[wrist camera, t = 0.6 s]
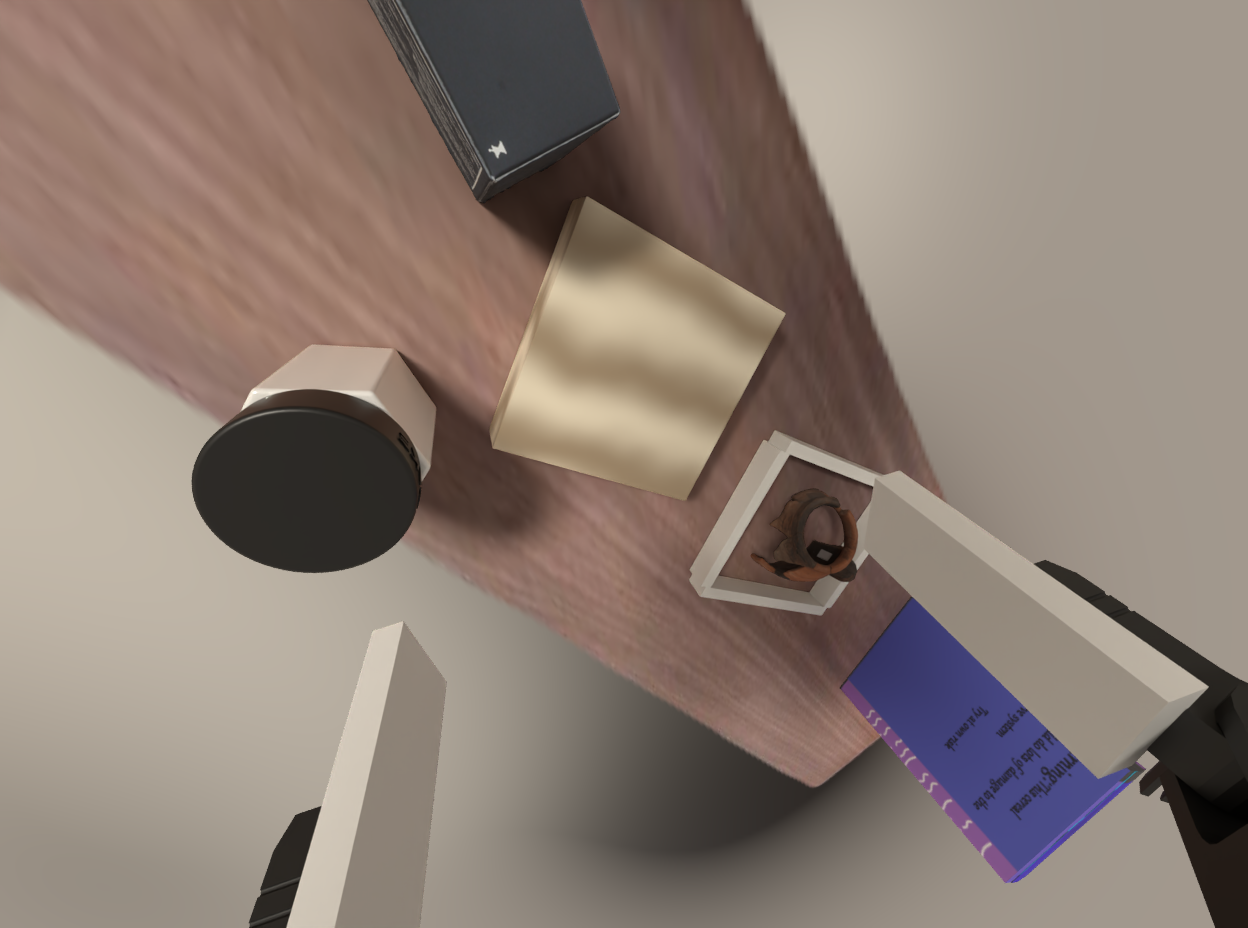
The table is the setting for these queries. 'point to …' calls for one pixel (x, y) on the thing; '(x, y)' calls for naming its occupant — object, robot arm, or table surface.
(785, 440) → the grey tray rim
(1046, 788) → the cereal box
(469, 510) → the table surface
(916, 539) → the robot arm
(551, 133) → the small box
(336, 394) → the jar
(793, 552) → the pottery mug
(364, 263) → the table surface
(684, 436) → the maple base
